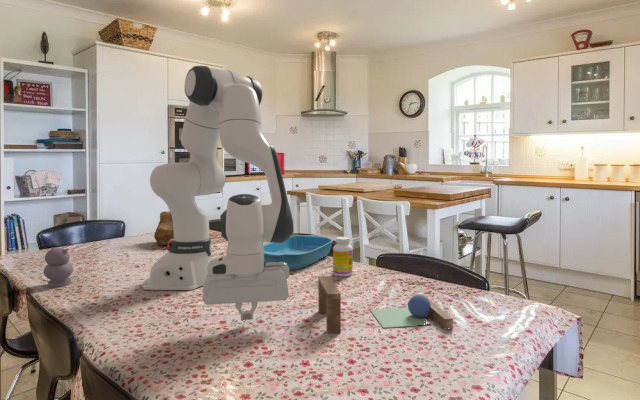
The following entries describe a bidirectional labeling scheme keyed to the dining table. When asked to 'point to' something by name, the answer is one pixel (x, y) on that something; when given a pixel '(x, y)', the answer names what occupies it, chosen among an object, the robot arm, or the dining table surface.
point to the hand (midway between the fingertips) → (247, 319)
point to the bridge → (330, 303)
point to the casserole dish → (298, 250)
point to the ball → (419, 306)
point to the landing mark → (397, 317)
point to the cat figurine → (58, 267)
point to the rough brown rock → (164, 229)
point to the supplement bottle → (342, 257)
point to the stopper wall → (440, 315)
